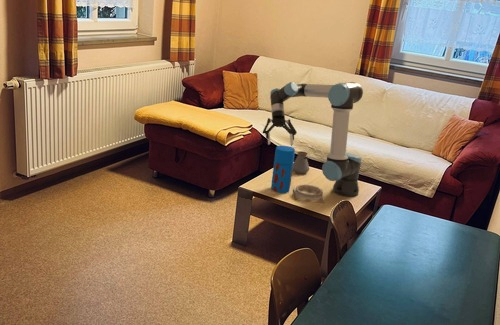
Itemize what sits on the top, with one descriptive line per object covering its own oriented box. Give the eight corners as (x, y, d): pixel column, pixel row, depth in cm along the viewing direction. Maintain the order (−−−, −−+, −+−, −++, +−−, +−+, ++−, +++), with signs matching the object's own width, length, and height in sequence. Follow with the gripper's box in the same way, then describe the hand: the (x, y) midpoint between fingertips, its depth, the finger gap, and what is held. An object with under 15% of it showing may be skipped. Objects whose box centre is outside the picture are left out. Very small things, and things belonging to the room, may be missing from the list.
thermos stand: (321, 192, 283) (322, 186, 282) (324, 203, 268) (325, 196, 267) (293, 189, 283) (294, 183, 282) (295, 199, 268) (296, 193, 267)
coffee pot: (289, 168, 319) (292, 146, 314) (307, 169, 320) (310, 147, 315) (294, 179, 298) (297, 156, 294) (313, 181, 300) (316, 158, 295)
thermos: (280, 185, 288) (285, 144, 280) (293, 191, 280) (299, 150, 272) (267, 188, 281) (272, 146, 273) (279, 194, 273) (285, 152, 265)
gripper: (296, 117, 298) (299, 148, 289) (256, 114, 293) (258, 146, 284) (299, 110, 291) (303, 142, 282) (259, 108, 286) (261, 140, 277)
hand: (280, 144), depth 283 cm, fingers open, 13 cm apart
